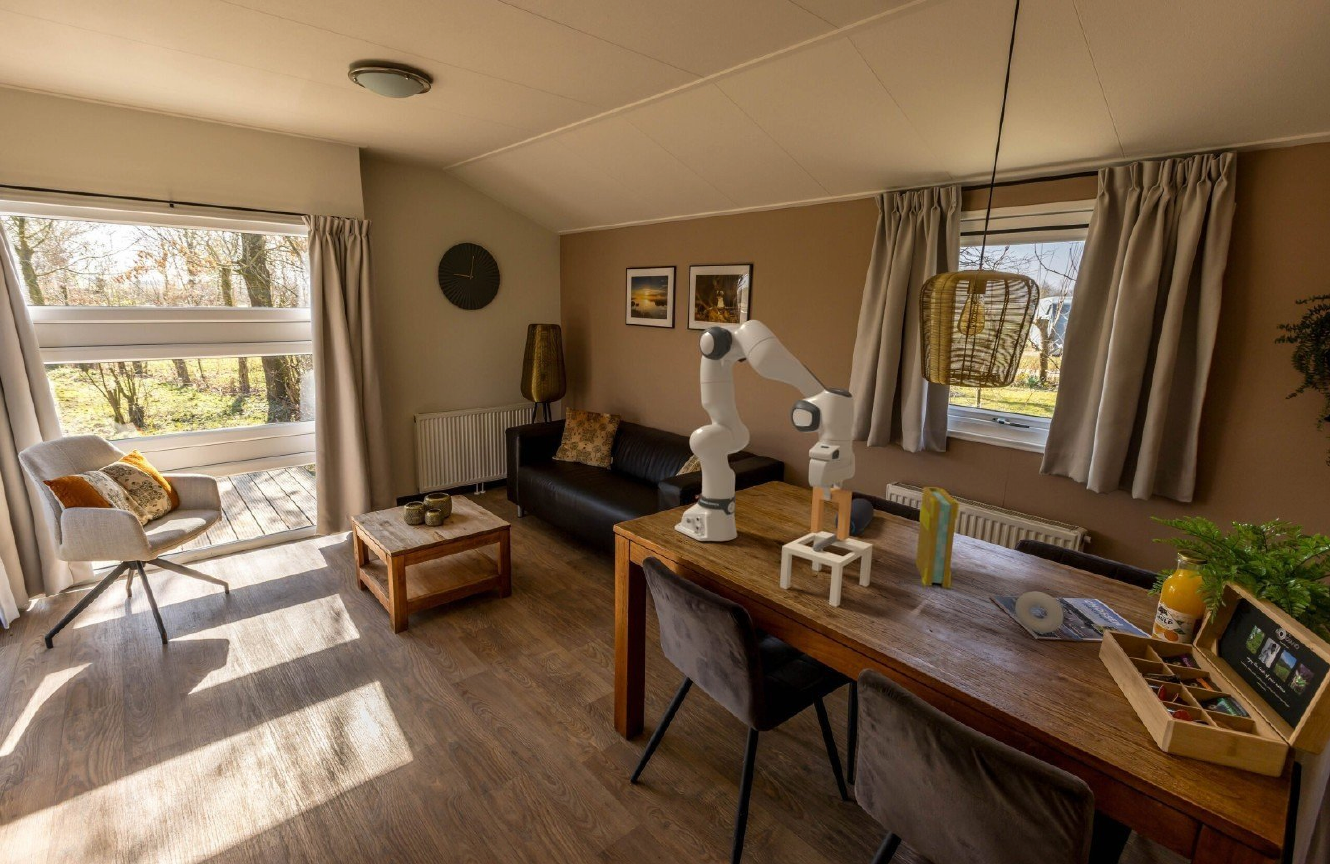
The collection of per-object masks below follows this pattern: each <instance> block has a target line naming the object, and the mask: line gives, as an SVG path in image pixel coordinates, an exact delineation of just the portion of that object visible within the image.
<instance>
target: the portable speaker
mask: <svg viewBox="0 0 1330 864" xmlns="http://www.w3.org/2000/svg"><path fill="white" fill-rule="evenodd" d="M874 514H875V511H874V507H873V505H872V503H871V502H870V501H869V500H867V499H865V498H855V499H851V513H850V527H849V536H853V537H859V535H861V534H862V533H863V532H864V531H865V529H866V527H867V526H868V525H869V524H870V522H871V521H872V520H873V517H874ZM834 523H835V528H836V530H837V529H838V514H837V515H836V518H835V522H834Z"/></svg>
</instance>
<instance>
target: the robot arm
mask: <svg viewBox="0 0 1330 864" xmlns="http://www.w3.org/2000/svg"><path fill="white" fill-rule="evenodd" d="M698 342H699V350H700V352H701V355H702V356H701V360H700V367H699V368H700V370H699V372H700V373H699V374H700V375H699V377H700V378H699V380H700V381H699V384H700V396H701V397H700V398H701V406H702V408H703V410H705V411H706V412H707V414H708V415H709V418H710V421H711V424H706V425H703V426H701V427H698V428H697V429H695V430H694V431H693V432H692V433H691V435H690V436H689V437H690V438H689V447H690V450H691V452H692V453H693V454H694V456H696V457H697V459H698V461H699V464H700V467H701V475H702V476H701V477H702V481H701V486H702V487H701V493H699V494H696V495H695V499H696V500H697V502H696V504H694V505H692V506H691V507H690V508H689V507H688V509H686V510H685V511H684V512H683V514H682V516H681V521H680V522H679V523H676V524H675V526H674V530H675V531H677V532H679V533H682V534H683V535H686V536H689V537H690V538H693V539H695V540H696V541H700V542H705V541H706V542H711V541H712V542H713V541H714V542H724V541H727V542H728V541H731V540H734V539H736V538H737V537H738V533H737V532H738V531H737V528H736V520H735V510H736V495H735V487H736V486H735V485H736V474H735V472H734V470H733V469H732V468H731V467H730V464H729V461H728V455H731V454H734V453H738V452H739V451H741V450H743V449H745V447H746V446H748V444H749V443H750V439H751V438H750V431H749V428H748V427H747V426H746V425H745V424H744V423H743V422H742V420H741V418H740V416H739V412H738V410H737V406H736V398H735V388H734V387H735V386H734V372H733V369H734V364H736V362H737V361H738V362H739V363H743V362H744V361H748V363H749V364H750V366H751V368H752V369H753V370H754V371H755V372H756V373H757V374H759V375H760V376H761V377H762V378H765V379H768V380H775V381H778V382H783V383H785V384H789V385H792V386H793V387H794V388H795V389H797V390H798V391H799V392H800V393H801V394H802V395H803V396H804V397H805V398H803V399H799V400H796V401H795V402H794V403H793V405H792V407H791V411H790V422H791V425H792V426H793V428H795V430H797V431H798V432H800V433H806V434H807V433H818V441H817V442H816V443H815V444H814V445H813V446H812V447H811V448H810V449H809V452H808V456H809V458H811V459H810V460H809V466H808V467H809V468H808V483H809V485H810V487H812V488H813V487H817V488H822V490H823V493H824V499H825V500H824V501H826V500H831V499H832V493H831V490H830V488H835V489H840V490H842V487H843V484H844V483H843V482H844V481H846V480H849V479H853V478H854V476H855V473H856V457H855V456H856V455H855V452H853V427H854V423H855V400H854V397H853V394H852V393H851V392H850V391H849V390H845V389H842V388H837V387H828V388H827V386H825V385H824V384H823V383H822V381H820V379H818V378H817V376H816V375H815V374H814V373H813V372H812V371H811V370H810V369H809V368H808V367H807V366H806V365H805V364H803V362H802V361H800V360H799V359H797V358H796V357H795V356H794V355H793V354H792V353H791V352H790V351H789V350H788V349H787V348H786V347H785V346H784V345H783V344H782V343H781V341H780V340H779V338H778V337H777V336H776V335H775V334H774V333H773V331H772V330H771V329H770V328H769V327H767V326H766V325H765V324H764V323H763V322H761V321H760V320H757V319H750V320H748V321H745V322H744V323H743V324H741V325H739V324H737V325H735V324H729V325H722V326H721V325H720V326H711V327H708V328H705V329H704V330H703V331H702V332H701V335H700V336H699V341H698ZM832 485H833V487H832Z"/></svg>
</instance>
